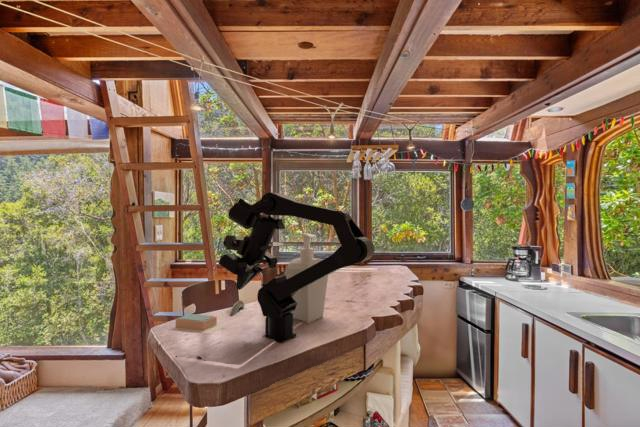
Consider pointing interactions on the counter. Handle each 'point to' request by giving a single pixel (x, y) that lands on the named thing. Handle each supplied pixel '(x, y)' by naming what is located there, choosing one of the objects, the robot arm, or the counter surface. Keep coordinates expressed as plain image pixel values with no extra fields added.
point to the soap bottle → (313, 294)
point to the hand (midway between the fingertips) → (238, 288)
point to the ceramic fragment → (235, 308)
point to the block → (196, 322)
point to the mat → (209, 330)
